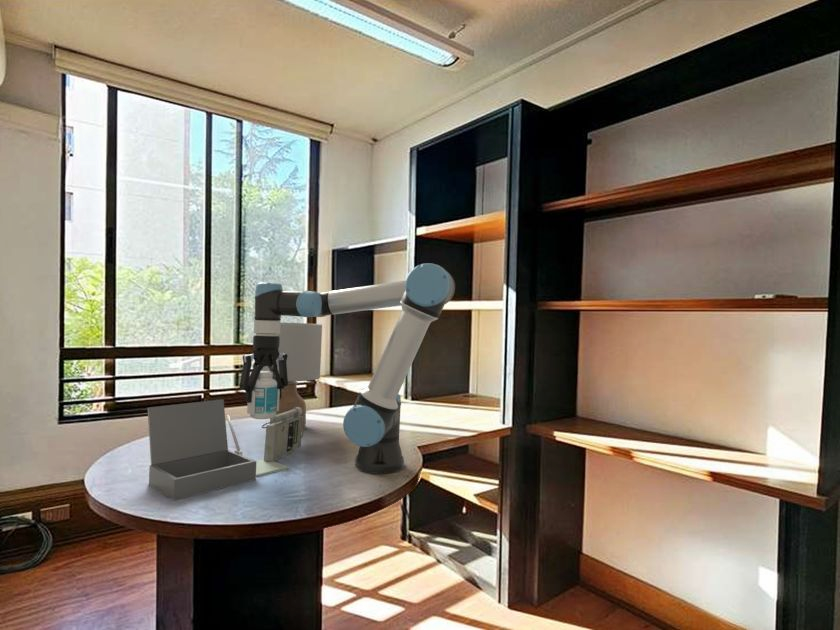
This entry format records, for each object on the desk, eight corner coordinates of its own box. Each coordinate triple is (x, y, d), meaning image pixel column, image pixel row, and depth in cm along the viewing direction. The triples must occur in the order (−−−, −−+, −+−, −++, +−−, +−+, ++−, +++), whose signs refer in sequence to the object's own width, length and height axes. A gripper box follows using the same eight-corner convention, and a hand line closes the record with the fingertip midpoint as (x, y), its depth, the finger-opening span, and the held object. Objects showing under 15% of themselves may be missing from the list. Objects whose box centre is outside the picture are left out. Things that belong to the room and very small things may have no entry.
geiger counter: (278, 416, 146) (313, 405, 171) (260, 414, 148) (296, 403, 172) (275, 462, 146) (309, 444, 170) (256, 460, 147) (293, 442, 172)
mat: (287, 468, 143) (287, 466, 143) (254, 477, 134) (254, 475, 134) (267, 460, 150) (267, 458, 150) (234, 468, 141) (234, 466, 141)
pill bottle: (273, 414, 147) (275, 370, 147) (278, 419, 141) (280, 373, 141) (247, 415, 144) (249, 370, 144) (251, 420, 137) (254, 373, 137)
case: (259, 478, 134) (262, 408, 134) (173, 500, 116) (177, 419, 116) (224, 462, 146) (227, 398, 146) (142, 480, 128) (145, 407, 128)
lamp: (279, 418, 207) (283, 322, 207) (328, 425, 200) (332, 324, 200) (242, 430, 184) (247, 322, 185) (296, 438, 177) (301, 325, 177)
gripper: (288, 334, 152) (285, 405, 152) (227, 334, 137) (224, 414, 137) (302, 335, 147) (299, 409, 147) (241, 335, 132) (237, 418, 132)
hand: (263, 411), depth 142 cm, fingers closed on pill bottle, 7 cm apart
